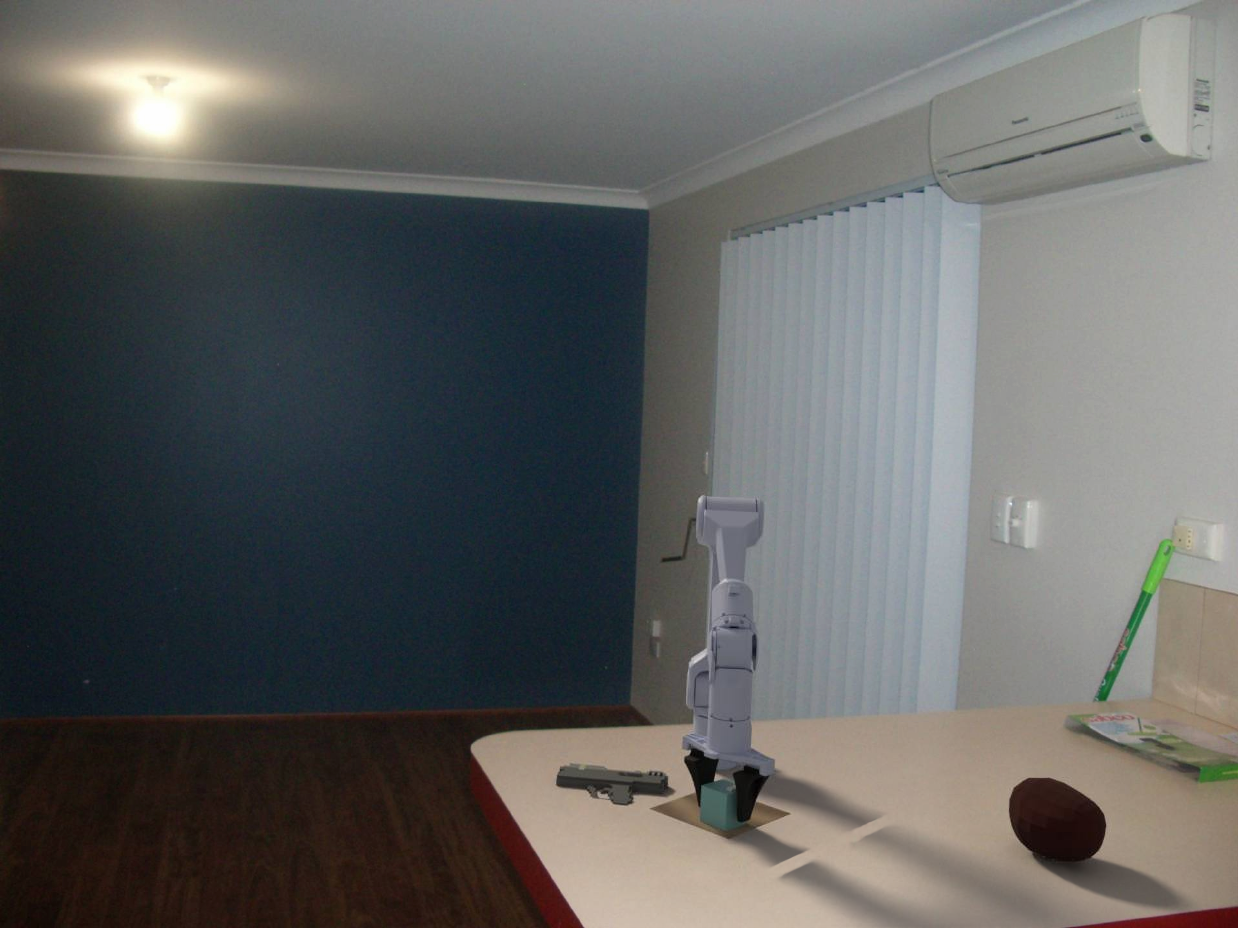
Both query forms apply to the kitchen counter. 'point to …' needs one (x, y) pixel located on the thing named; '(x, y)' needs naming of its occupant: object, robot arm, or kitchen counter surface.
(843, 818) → the kitchen counter surface
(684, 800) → the board
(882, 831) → the kitchen counter surface
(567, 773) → the toy gun
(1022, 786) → the potato
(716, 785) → the teal cube
